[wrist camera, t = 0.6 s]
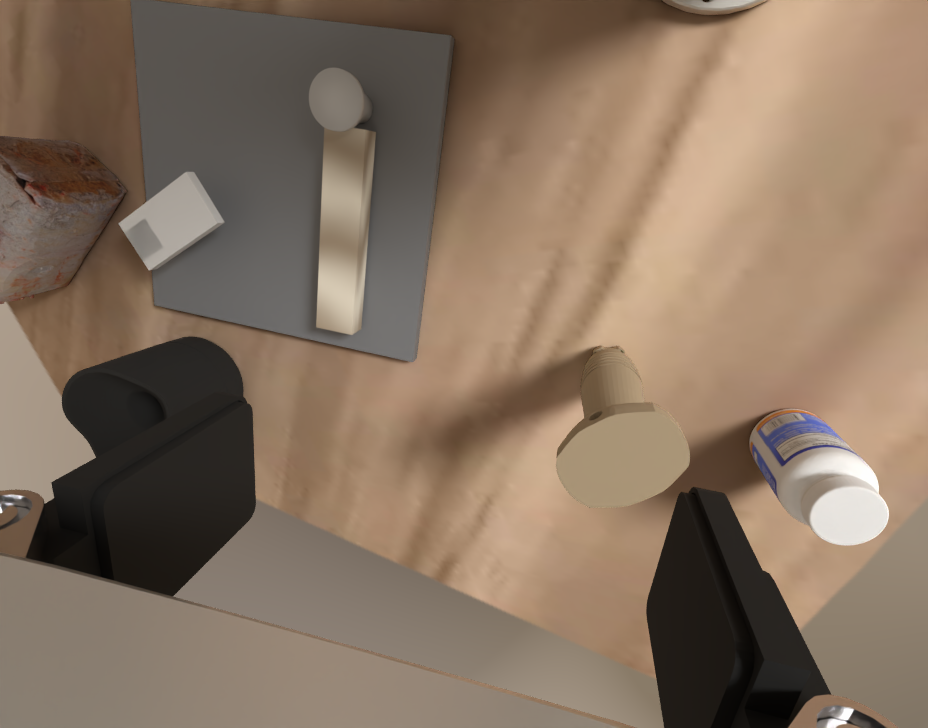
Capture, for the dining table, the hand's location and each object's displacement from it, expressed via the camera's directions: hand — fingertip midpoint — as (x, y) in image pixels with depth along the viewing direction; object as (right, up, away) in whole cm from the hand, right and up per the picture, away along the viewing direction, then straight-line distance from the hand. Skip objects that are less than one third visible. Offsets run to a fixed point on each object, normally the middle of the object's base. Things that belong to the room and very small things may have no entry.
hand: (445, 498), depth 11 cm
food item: (-34, +16, +35) cm, 51 cm away
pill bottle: (+25, -3, +27) cm, 37 cm away
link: (-8, +13, +28) cm, 32 cm away
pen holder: (-24, +1, +37) cm, 44 cm away
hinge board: (-13, +16, +29) cm, 36 cm away
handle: (+11, +3, +28) cm, 31 cm away
